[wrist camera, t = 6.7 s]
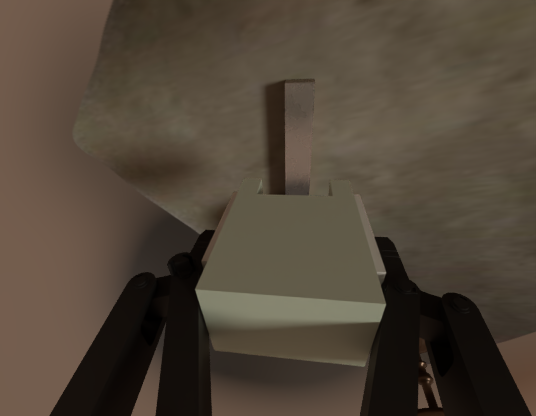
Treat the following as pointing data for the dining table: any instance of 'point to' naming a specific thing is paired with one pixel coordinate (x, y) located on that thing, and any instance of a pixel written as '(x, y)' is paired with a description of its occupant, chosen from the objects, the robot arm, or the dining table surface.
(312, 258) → the block
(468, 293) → the dining table surface
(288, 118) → the grey l-shaped piece
